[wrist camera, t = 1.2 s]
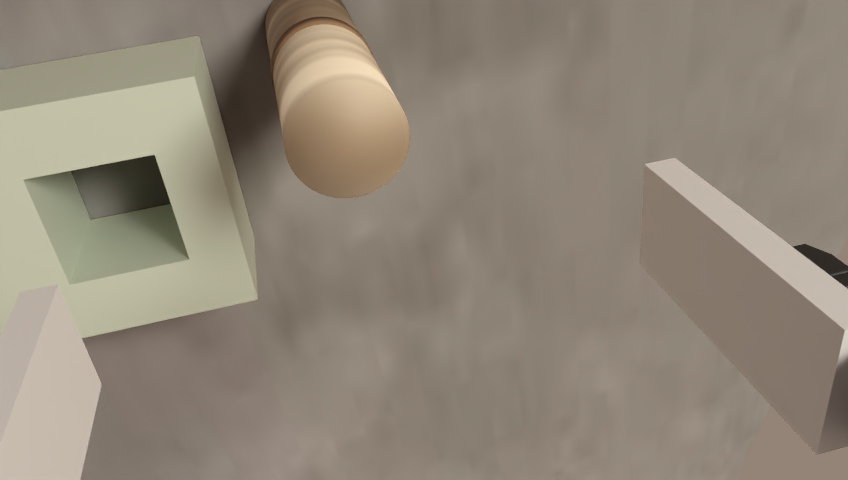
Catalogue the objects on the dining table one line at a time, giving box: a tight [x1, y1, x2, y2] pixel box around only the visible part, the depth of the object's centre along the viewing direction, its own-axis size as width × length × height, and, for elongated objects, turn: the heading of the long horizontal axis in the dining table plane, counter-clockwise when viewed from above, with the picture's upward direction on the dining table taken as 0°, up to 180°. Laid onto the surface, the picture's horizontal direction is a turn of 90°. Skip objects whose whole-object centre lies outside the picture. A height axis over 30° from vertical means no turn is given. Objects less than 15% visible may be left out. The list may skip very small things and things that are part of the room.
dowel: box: [265, 0, 410, 198], centre depth 30 cm, size 4×4×14 cm
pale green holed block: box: [0, 36, 258, 338], centre depth 34 cm, size 11×20×6 cm, turn 97°
